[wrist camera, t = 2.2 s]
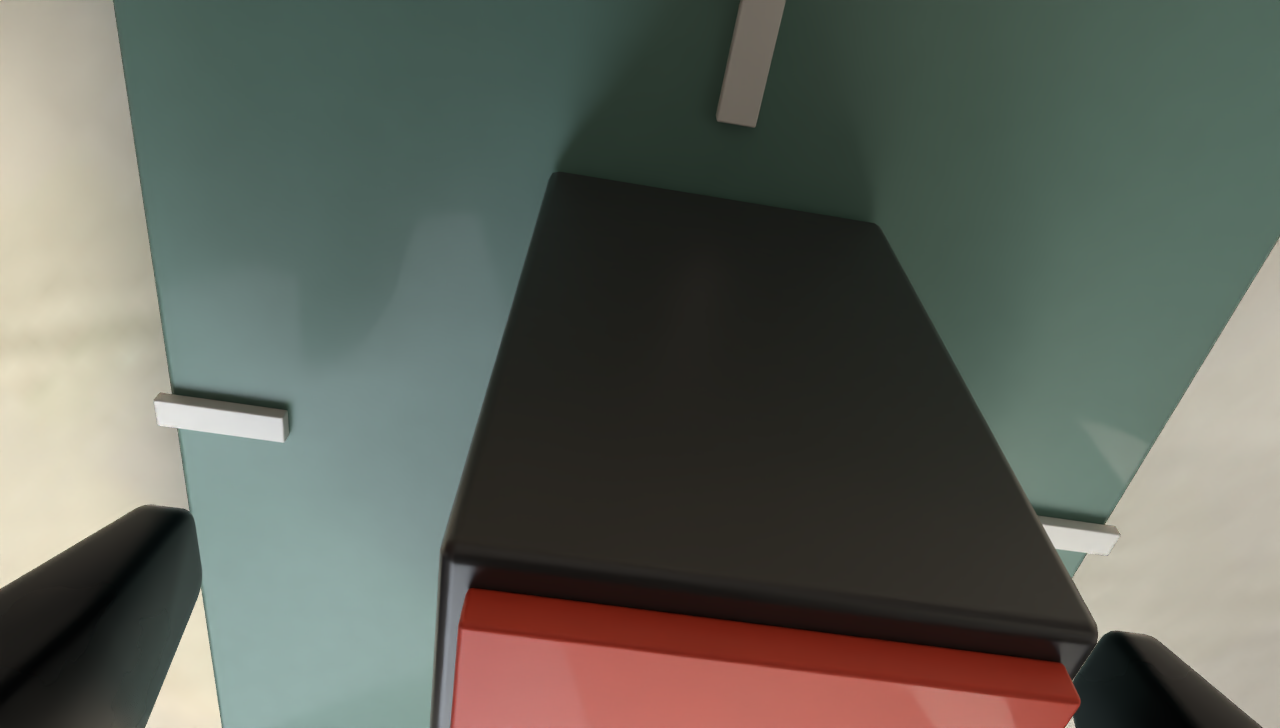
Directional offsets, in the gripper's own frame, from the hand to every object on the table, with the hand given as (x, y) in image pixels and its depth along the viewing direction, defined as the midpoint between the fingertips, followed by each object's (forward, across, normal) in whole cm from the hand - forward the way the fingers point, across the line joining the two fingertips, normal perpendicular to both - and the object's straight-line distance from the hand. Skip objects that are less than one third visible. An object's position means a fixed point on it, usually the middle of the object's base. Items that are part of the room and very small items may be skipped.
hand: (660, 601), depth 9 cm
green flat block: (+4, 0, 0) cm, 4 cm away
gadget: (+2, 0, 0) cm, 2 cm away
